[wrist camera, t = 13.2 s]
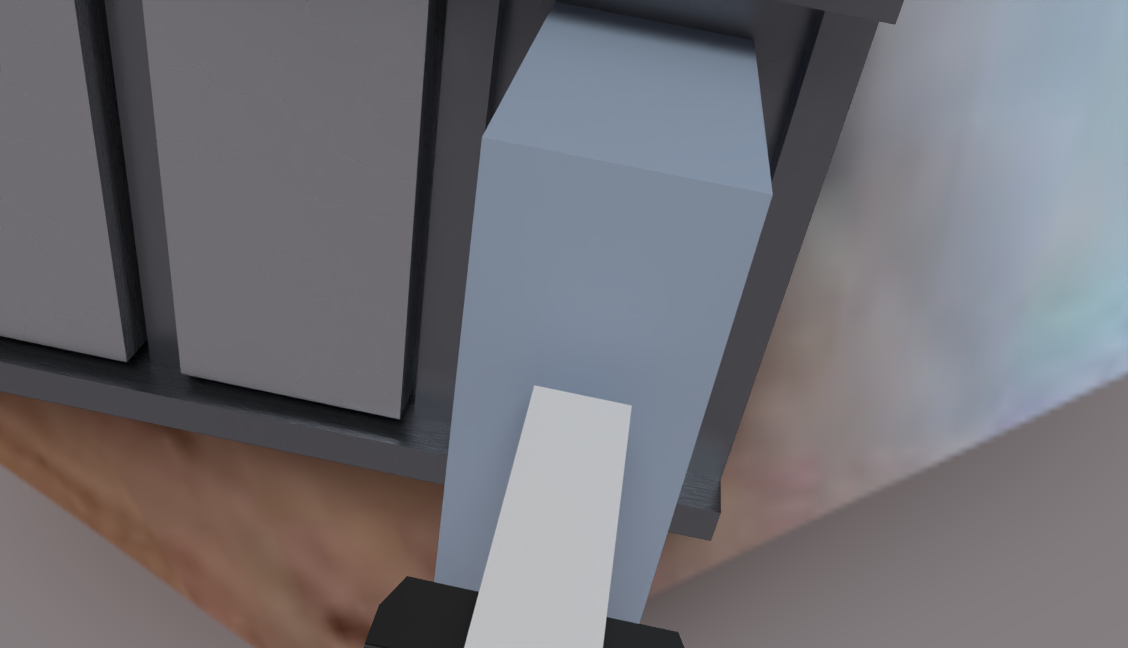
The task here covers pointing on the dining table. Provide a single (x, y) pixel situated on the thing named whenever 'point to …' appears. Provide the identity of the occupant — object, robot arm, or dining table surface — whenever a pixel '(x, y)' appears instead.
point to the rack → (326, 208)
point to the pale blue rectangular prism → (605, 265)
